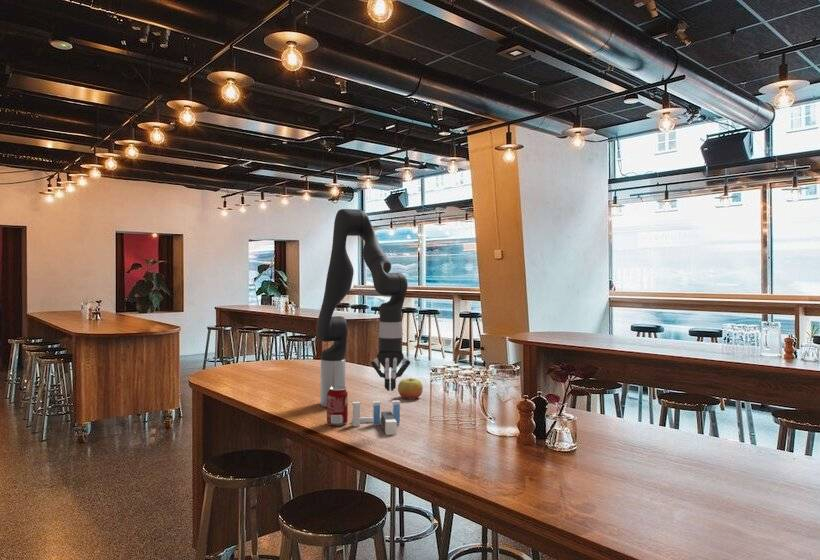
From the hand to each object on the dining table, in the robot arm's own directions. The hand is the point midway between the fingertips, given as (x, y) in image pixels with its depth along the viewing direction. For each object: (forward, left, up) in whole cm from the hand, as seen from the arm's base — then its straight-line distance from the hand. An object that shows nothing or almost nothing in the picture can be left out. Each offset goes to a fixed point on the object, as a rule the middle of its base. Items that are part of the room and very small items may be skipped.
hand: (389, 390), depth 179 cm
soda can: (-10, -16, -13) cm, 23 cm away
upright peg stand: (-9, -3, -13) cm, 16 cm away
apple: (-43, +15, -13) cm, 48 cm away
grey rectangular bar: (-2, 0, -13) cm, 13 cm away
